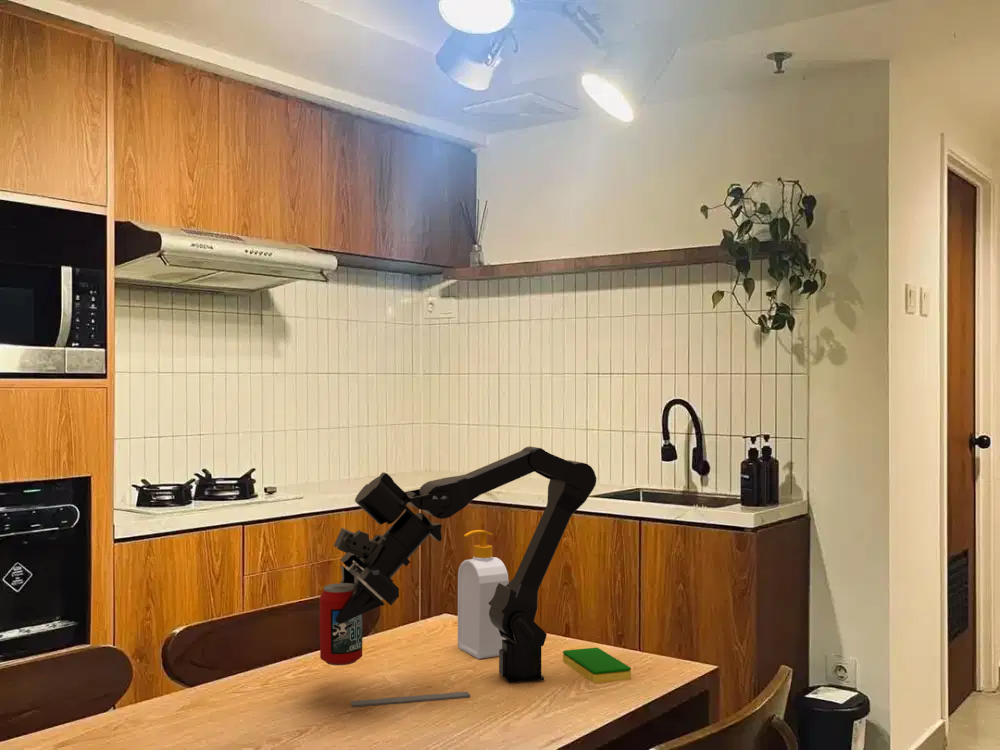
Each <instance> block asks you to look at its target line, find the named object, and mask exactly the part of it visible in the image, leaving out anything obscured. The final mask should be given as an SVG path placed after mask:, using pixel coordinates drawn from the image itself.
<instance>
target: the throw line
mask: <svg viewBox="0 0 1000 750" xmlns="http://www.w3.org/2000/svg"><path fill="white" fill-rule="evenodd" d="M465 698H466V699H467V698H471V695H470V693H469V692H468V691H459V692H458V691H457V692H446V693H445V692H444V693H433V694H420V695H410V696H409V695H408V696H407V695H406V696H398V697H397V696H395V697H385V698H374V699H373V698H372V699H371V698H370V699H361V700H351V701H350V705H351V708H356V707H357V708H358V707H360V708H361V707H369V706H380V705H381V706H382V705H394V704H405V703H417V702H427V701H428V702H430V701H441V700H451V699H452V700H453V699H465Z"/></svg>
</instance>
